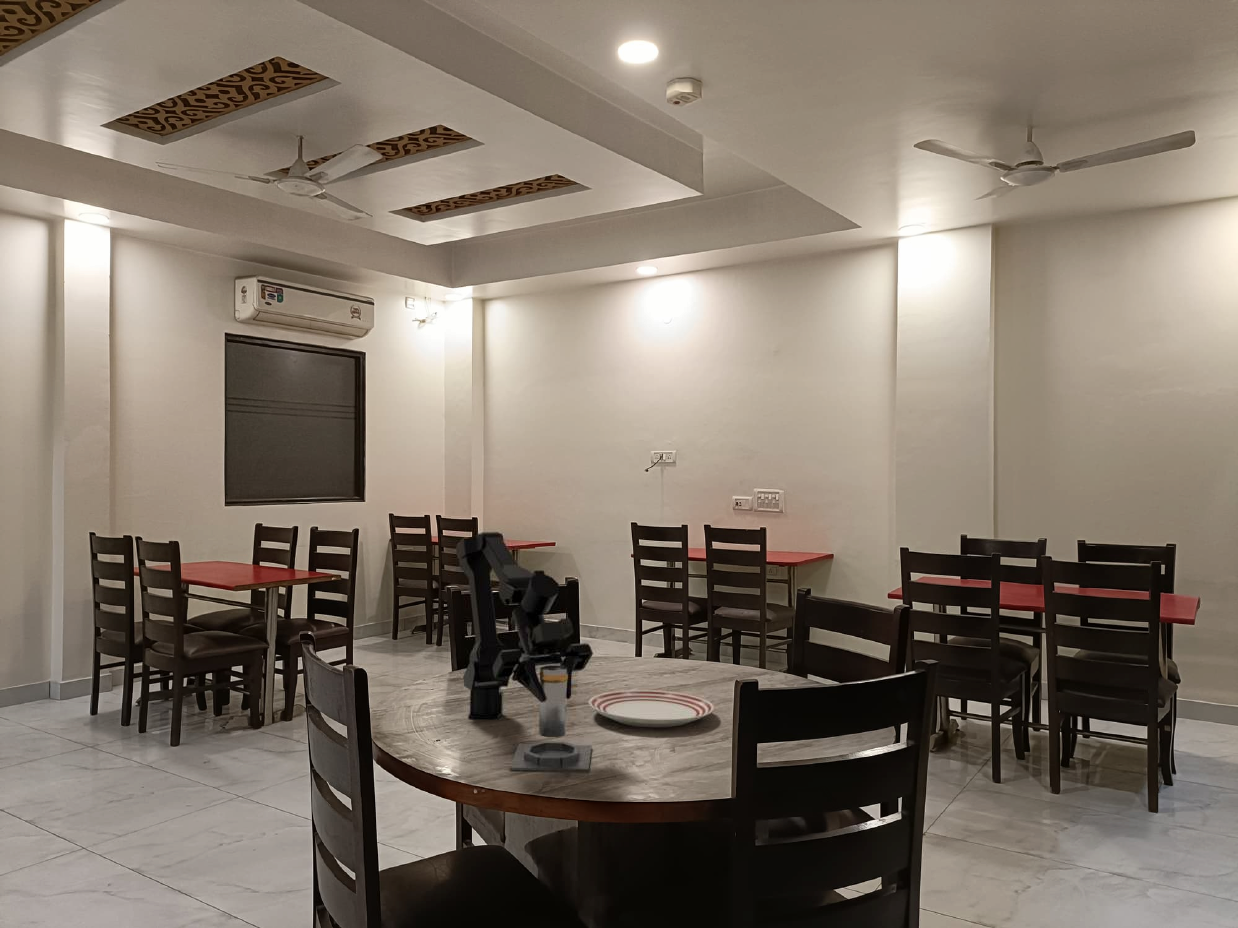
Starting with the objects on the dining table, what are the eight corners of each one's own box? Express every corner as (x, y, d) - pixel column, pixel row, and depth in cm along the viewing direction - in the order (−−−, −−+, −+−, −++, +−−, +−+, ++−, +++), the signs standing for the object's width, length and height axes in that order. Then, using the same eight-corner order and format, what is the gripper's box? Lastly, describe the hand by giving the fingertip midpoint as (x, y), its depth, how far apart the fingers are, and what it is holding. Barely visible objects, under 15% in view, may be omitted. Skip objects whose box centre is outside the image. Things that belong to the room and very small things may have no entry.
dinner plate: (640, 695, 217) (640, 681, 217) (737, 716, 200) (738, 701, 200) (562, 717, 196) (562, 702, 196) (663, 743, 179) (663, 726, 179)
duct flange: (509, 770, 160) (509, 760, 160) (518, 746, 174) (519, 737, 174) (588, 771, 160) (588, 762, 160) (591, 747, 174) (591, 739, 174)
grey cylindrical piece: (533, 734, 166) (534, 669, 166) (546, 727, 171) (548, 664, 171) (558, 738, 164) (559, 672, 164) (571, 731, 169) (572, 667, 169)
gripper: (499, 607, 166) (522, 679, 157) (589, 601, 175) (616, 669, 166) (483, 642, 173) (504, 714, 163) (570, 635, 182) (595, 702, 173)
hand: (556, 699), depth 166 cm, fingers closed on grey cylindrical piece, 5 cm apart
